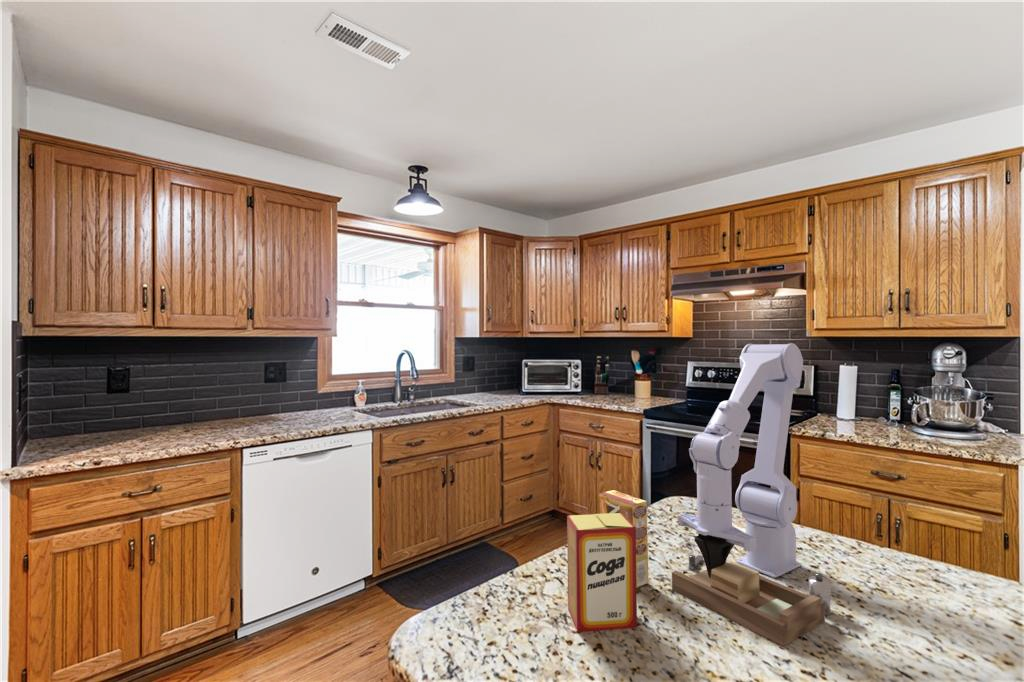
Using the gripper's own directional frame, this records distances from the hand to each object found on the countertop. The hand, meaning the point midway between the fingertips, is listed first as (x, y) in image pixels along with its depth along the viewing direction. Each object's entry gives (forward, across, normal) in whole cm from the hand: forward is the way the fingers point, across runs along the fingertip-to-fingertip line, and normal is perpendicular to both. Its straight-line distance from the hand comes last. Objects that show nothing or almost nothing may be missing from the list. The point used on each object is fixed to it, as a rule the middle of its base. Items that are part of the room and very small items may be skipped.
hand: (715, 577), depth 87 cm
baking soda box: (+3, -4, -23) cm, 24 cm away
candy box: (+3, -12, -10) cm, 16 cm away
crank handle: (+3, -9, +6) cm, 11 cm away
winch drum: (+2, +13, +9) cm, 16 cm away
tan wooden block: (+1, +4, 0) cm, 4 cm away
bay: (+2, +5, 0) cm, 6 cm away
